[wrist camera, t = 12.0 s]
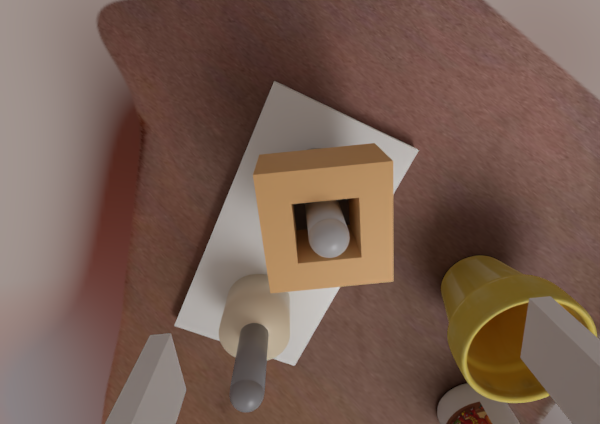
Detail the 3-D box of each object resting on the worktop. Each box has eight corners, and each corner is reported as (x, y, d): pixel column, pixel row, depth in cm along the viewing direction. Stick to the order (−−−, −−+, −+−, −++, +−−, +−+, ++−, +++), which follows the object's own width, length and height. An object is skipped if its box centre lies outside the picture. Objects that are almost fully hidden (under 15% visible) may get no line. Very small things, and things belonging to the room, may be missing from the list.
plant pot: (401, 307, 38) (436, 383, 29) (455, 221, 35) (514, 278, 26) (486, 338, 40) (543, 419, 31) (545, 259, 37) (629, 324, 28)
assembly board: (294, 357, 40) (296, 486, 28) (177, 318, 38) (124, 439, 26) (414, 147, 32) (490, 200, 20) (274, 80, 30) (264, 94, 18)
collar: (376, 246, 29) (393, 281, 24) (273, 256, 29) (270, 293, 24) (374, 143, 26) (393, 160, 21) (259, 154, 26) (252, 175, 21)
